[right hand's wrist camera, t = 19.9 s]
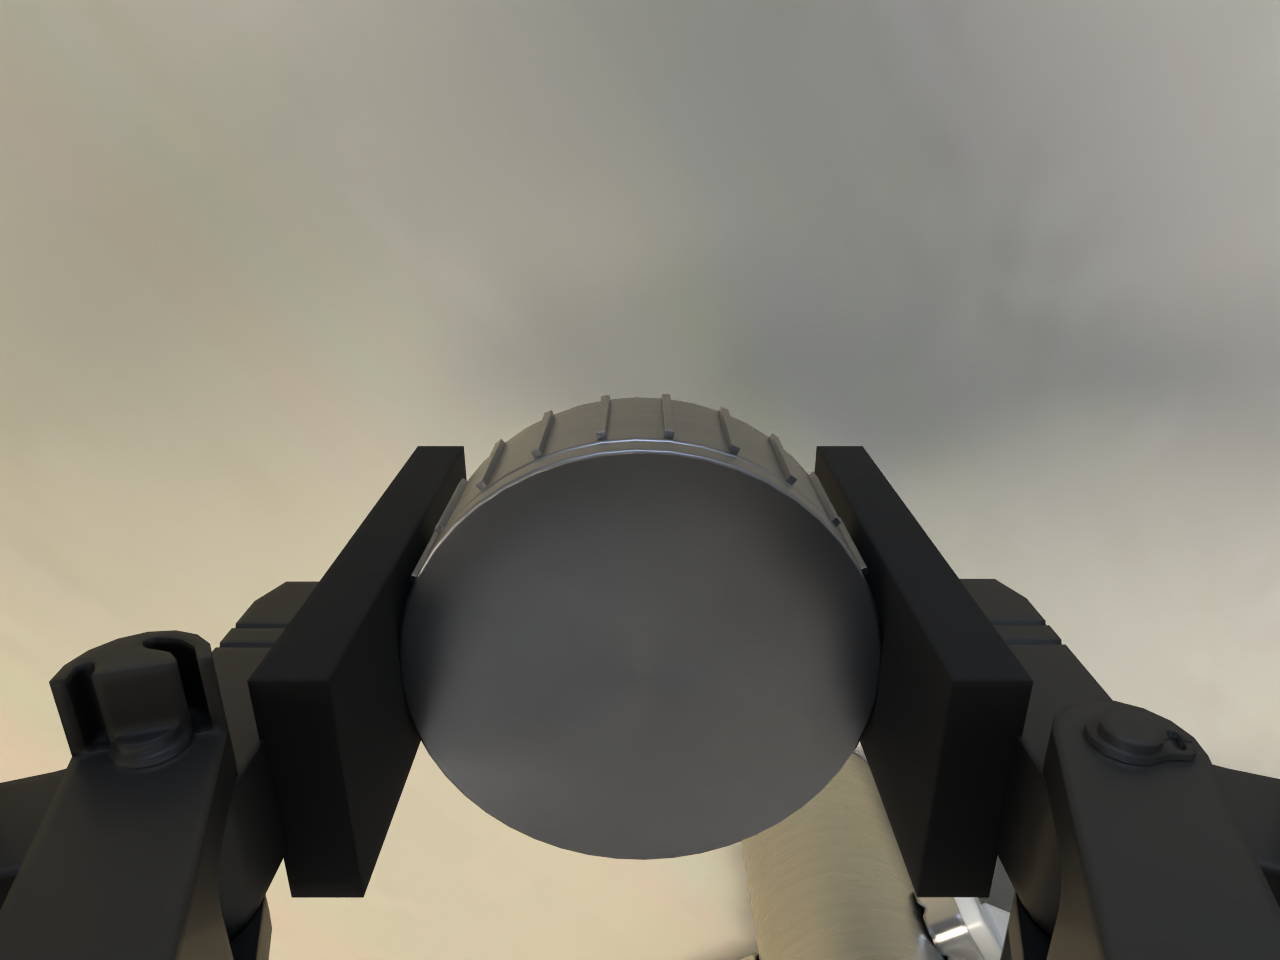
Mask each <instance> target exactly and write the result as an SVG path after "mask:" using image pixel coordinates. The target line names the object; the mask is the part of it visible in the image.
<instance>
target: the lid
mask: <svg viewBox="0 0 1280 960" xmlns="http://www.w3.org/2000/svg"><path fill="white" fill-rule="evenodd" d="M434 530H435V531H434V533H433V535H432V537H431V539H430V541H429V542H428V544H427V546H426V548H425V550H424V552H423V554H422V556H421V558H420V559H419V561H418V563H417V565H416V567H415V569H414V571H413V573H412V575H411V577H410V580H409V582H411V583H413V586H412V588H411V591H410V593H409V595H408V598H407V601H406V605H405V610H404V614H403V618H402V622H401V627H400V639H399V660H400V668H401V677H402V685H403V692H404V698H405V702H406V706H407V709H408V712H409V714H410V717H411V719H412V722H413V724H414V727H415V730H416V732H417V734H418V735H419V737H420V739H421V741H422V742H423V744H424V746H425V748H426V750H427V751H428V753H429V755H430V756H431V757H432V759H433V760H434V761H435V763H436V764H437V765H438V767H439V768H440V769H441V771H442V772H443V773H444V775H445V776H446V777H447V778H448V779H449V780H450V781H451V782H452V783H453V784H454V785H455V786H456V787H457V788H458V789H459V790H460V791H461V792H462V793H463V794H464V795H465V796H466V797H467V798H469V799H470V800H471V801H472V802H474V803H475V804H476V805H477V806H479V807H480V808H481V809H482V810H484V811H485V812H486V813H488V814H490V815H491V816H493V817H494V818H496V819H498V820H499V821H501V822H502V823H504V824H506V825H507V826H509V827H511V828H513V829H515V830H517V831H519V832H521V833H523V834H525V835H527V836H530V837H532V838H534V839H536V840H539V841H542V842H545V843H548V844H550V845H553V846H556V847H559V848H562V849H566V850H571V851H575V852H579V853H583V854H587V855H594V856H601V857H608V858H616V859H642V860H646V859H662V858H675V857H681V856H687V855H693V854H699V853H703V852H707V851H711V850H714V849H718V848H722V847H725V846H729V845H731V844H734V843H737V842H739V841H742V840H744V839H747V838H749V837H752V836H755V835H756V834H758V833H760V832H762V831H764V830H766V829H768V828H770V827H772V826H774V825H776V824H778V823H780V822H781V821H782V820H784V819H785V818H787V817H788V816H790V815H791V814H793V813H794V812H796V811H797V810H799V809H800V808H802V807H803V806H804V805H805V804H807V803H808V802H809V801H810V800H811V799H812V798H814V797H815V796H816V795H817V794H818V793H819V792H821V791H822V790H823V789H824V788H825V787H826V786H827V784H828V783H829V782H830V781H831V780H832V779H833V778H834V777H835V776H836V775H837V773H838V772H839V771H840V770H841V769H842V767H843V766H844V764H845V763H846V762H847V760H848V759H849V757H850V756H851V754H852V753H853V752H854V750H855V749H856V747H857V745H858V743H859V741H860V739H861V737H862V735H863V733H864V731H865V729H866V727H867V725H868V723H869V720H870V717H871V714H872V711H873V708H874V706H875V703H876V698H877V690H878V683H879V675H880V667H881V658H882V637H881V630H880V622H879V616H878V613H877V609H876V606H875V603H874V599H873V596H872V592H871V590H870V587H869V585H868V583H867V581H866V579H865V577H864V575H867V574H869V572H868V569H867V566H866V565H865V563H864V561H863V559H862V557H861V555H860V553H859V551H858V549H857V548H856V546H855V544H854V542H853V540H852V538H851V536H850V534H849V533H848V531H847V529H846V527H845V525H844V523H843V521H842V519H841V517H838V515H837V513H836V511H835V509H834V507H833V505H832V503H831V502H830V500H829V498H828V496H827V494H826V492H825V490H824V488H823V486H822V484H821V483H820V481H819V479H818V477H817V476H816V474H815V473H814V472H812V473H810V474H809V475H808V473H807V472H806V471H805V470H804V469H803V468H802V467H801V466H800V465H799V463H798V462H797V461H796V460H795V459H794V458H793V457H792V456H791V455H790V454H789V453H787V452H786V451H785V450H784V449H783V447H782V445H781V442H780V440H779V438H778V437H777V436H775V435H774V434H772V435H771V436H770V437H767V436H766V435H764V434H763V433H761V432H759V431H758V430H756V429H755V428H753V427H751V426H750V425H748V424H746V423H744V422H742V421H740V420H738V419H735V418H733V417H731V416H730V414H729V411H728V409H725V408H722V407H721V408H720V410H719V411H716V410H713V409H710V408H706V407H703V406H700V405H696V404H693V403H687V402H681V401H675V400H671V398H670V395H667V394H662V399H658V398H624V399H612V400H610V395H606V396H602V397H601V401H600V402H595V403H590V404H585V405H581V406H577V407H574V408H571V409H568V410H566V411H563V412H560V413H557V414H553V412H552V411H549V412H546V413H545V414H544V416H543V419H542V420H541V421H539V422H537V423H535V424H533V425H531V426H530V427H528V428H526V429H524V430H523V431H521V432H520V433H518V434H517V435H515V436H514V437H513V438H511V439H510V440H508V441H507V442H504V441H503V440H502V439H501V440H499V441H498V442H497V443H496V444H495V446H494V448H493V450H492V452H491V454H490V456H489V457H488V458H487V459H486V460H485V461H484V462H483V463H482V464H481V466H480V467H479V468H478V469H477V470H476V472H475V473H474V474H473V475H472V476H471V478H470V479H469V480H468V481H467V480H465V479H462V480H461V481H460V483H459V484H458V486H457V488H456V490H455V492H454V494H453V495H452V497H451V499H450V501H449V503H448V505H447V507H446V509H445V510H444V512H443V514H442V516H441V518H440V520H439V522H438V524H437V525H436V527H435V529H434Z"/></svg>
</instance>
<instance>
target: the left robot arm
mask: <svg viewBox="0 0 1280 960" xmlns="http://www.w3.org/2000/svg"><path fill="white" fill-rule="evenodd" d="M914 894H915V896H916V893H915V890H914ZM916 899H917V902H918V904H919V906H920V908H921V909H922V911H923V913H924V915H923V919H924V921H925V924H926V926H927V929H928V931H929V934H930V936H931V938H932V940H933V942H934V944H935V946H936V948H937V949H938V950H939V952H940V953H941V954H942V955H944V956H945V959H946V960H1000V957H1001V952H1002V948H1003V943H1004V939H1005V934H1006V930H1007V925H1008V921H1009V916H1010V913H1009V912H1007V911H1005V910H1002V909H1000V908H997V907H995V906H992V905H990V904H987V903H984V904H981V902H980V901H979V899H978V897H917V896H916ZM738 960H759V954H758V953H754V954H751V955H749V956H746V957H744V958H741V959H738Z"/></svg>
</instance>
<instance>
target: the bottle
mask: <svg viewBox="0 0 1280 960" xmlns="http://www.w3.org/2000/svg"><path fill="white" fill-rule="evenodd" d="M742 848H743V855H744V861H745V868H746V874H747V881H748V888H749V894H750V901H751V908H752V914H753V921H754V927H755V934H756V941H757V947H758V954H759V960H946V959H945V956H944V955H942V954H941V953H940V952H939V950H938V949H937V948H936V946H935V944H934V942H933V940H932V938H931V936H930V934H929V931H928V929H927V926H926V924H925V921H924V919H923V915H924V913H923V911H922V909H921V908H920V906H919V904H918V902H917V899H916V896H915V894H914V888H913V885H912V882H911V879H910V877H909V874H908V871H907V868H906V866H905V863H904V860H903V857H902V855H901V852H900V849H899V847H898V844H897V841H896V838H895V836H894V833H893V830H892V827H891V825H890V822H889V819H888V816H887V814H886V811H885V808H884V806H883V803H882V800H881V797H880V795H879V792H878V789H877V786H876V784H875V781H874V778H873V775H872V773H871V770H870V767H869V765H868V764H867V763H866V762H865V761H864V760H863V759H861V758H860V757H858V756H857V755H855V754H854V753H852V754H851V756H850V757H849V759H848V760H847V762H846V763H845V764H844V766H843V767H842V769H841V770H840V771H839V772H838V773H837V775H836V776H835V777H834V778H833V779H832V780H831V781H830V782H829V783H828V784H827V786H826V787H825V788H824V789H823V790H822V791H821V792H819V793H818V794H817V795H816V796H815V797H814V798H812V799H811V800H810V801H809V802H808V803H807V804H805V805H804V806H803V807H802V808H800V809H799V810H797V811H796V812H794V813H793V814H791V815H790V816H788V817H787V818H785V819H784V820H782V821H781V822H780V823H778V824H776V825H774V826H772V827H770V828H768V829H766V830H764V831H762V832H760V833H758V834H756V835H755V836H752V837H749V838H747V839H744V840H742Z"/></svg>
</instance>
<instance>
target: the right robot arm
mask: <svg viewBox="0 0 1280 960" xmlns="http://www.w3.org/2000/svg"><path fill="white" fill-rule="evenodd" d="M815 474H816V476H817V477H818V479H819V481H820V483H821V484H822V486H823V488H824V490H825V492H826V494H827V496H828V498H829V500H830V502H831V503H832V505H833V507H834V509H835V511H836V513H837V515H838V517H841V519H842V521H843V523H844V525H845V527H846V529H847V531H848V533H849V534H850V536H851V538H852V540H853V542H854V544H855V546H856V548H857V549H858V551H859V553H860V555H861V557H862V559H863V561H864V563H865V565H866V566H867V569H868V572H869V574H867V575H864V577H865V579H866V581H867V583H868V585H869V587H870V590H871V592H872V596H873V599H874V603H875V606H876V609H877V613H878V616H879V622H880V630H881V637H882V658H881V667H880V675H879V683H878V690H877V698H876V703H875V706H874V708H873V711H872V714H871V717H870V720H869V723H868V725H867V727H866V729H865V731H864V733H863V735H862V737H861V739H860V743H861V745H862V748H863V751H864V754H865V756H866V759H867V762H868V764H869V767H870V770H871V773H872V775H873V778H874V781H875V784H876V786H877V789H878V792H879V795H880V797H881V800H882V803H883V806H884V808H885V811H886V814H887V816H888V819H889V822H890V825H891V827H892V830H893V833H894V836H895V838H896V841H897V844H898V847H899V849H900V852H901V855H902V857H903V860H904V863H905V866H906V868H907V871H908V874H909V877H910V879H911V882H912V885H913V888H914V890H915V893H916V896H917V897H989V893H990V889H991V884H992V879H993V874H994V869H995V864H996V860H997V855H998V856H999V858H1000V860H1001V862H1002V864H1003V866H1004V868H1005V870H1006V872H1007V874H1008V876H1009V878H1010V880H1011V882H1012V884H1013V886H1014V888H1015V894H1014V898H1013V903H1012V907H1011V912H1010V916H1009V921H1008V925H1007V930H1006V934H1005V939H1004V943H1003V948H1002V952H1001V957H1000V960H1280V779H1276V778H1271V777H1266V776H1262V775H1257V774H1252V773H1247V772H1242V771H1237V770H1232V769H1227V768H1224V767H1220V766H1216V765H1212V763H1211V761H1210V759H1209V757H1208V755H1207V754H1206V753H1205V751H1204V750H1203V749H1202V747H1201V746H1200V745H1199V743H1198V742H1197V741H1196V740H1195V738H1194V737H1192V736H1191V735H1190V734H1188V733H1187V732H1186V731H1184V730H1183V729H1181V728H1180V727H1179V726H1177V725H1176V724H1174V723H1173V722H1172V721H1170V720H1168V719H1165V718H1163V717H1161V716H1159V715H1157V714H1154V713H1152V712H1150V711H1148V710H1146V709H1144V708H1140V707H1136V706H1132V705H1128V704H1124V703H1121V702H1117V701H1113V700H1112V699H1111V698H1110V697H1109V696H1108V694H1107V693H1106V692H1105V691H1104V690H1103V688H1102V687H1101V686H1100V685H1099V684H1098V683H1097V681H1096V680H1095V679H1094V678H1093V677H1092V675H1091V674H1090V673H1089V672H1088V671H1087V670H1086V668H1085V667H1084V666H1083V665H1082V664H1081V662H1080V661H1079V660H1078V659H1077V658H1076V657H1075V655H1074V654H1073V653H1072V652H1071V651H1070V649H1069V648H1068V647H1067V646H1066V645H1062V643H1061V639H1060V638H1059V636H1058V635H1057V634H1056V633H1055V632H1054V630H1053V629H1052V628H1051V627H1050V626H1049V625H1046V624H1045V620H1044V619H1043V617H1042V616H1041V615H1040V614H1039V613H1038V611H1037V610H1036V609H1035V608H1034V607H1033V606H1032V604H1031V603H1030V602H1029V601H1028V600H1027V598H1025V597H1023V596H1022V595H1020V594H1018V593H1017V592H1015V591H1013V590H1012V589H1010V588H1009V587H1007V586H1005V585H1004V584H1002V583H1000V582H999V581H997V580H995V579H959V578H958V577H957V575H956V574H955V573H954V571H953V570H952V569H951V567H950V566H949V564H948V563H947V562H946V560H945V559H944V558H943V556H942V555H941V553H940V552H939V551H938V549H937V548H936V547H935V545H934V544H933V542H932V541H931V540H930V538H929V537H928V536H927V534H926V533H925V531H924V530H923V529H922V527H921V526H920V525H919V523H918V522H917V520H916V519H915V518H914V516H913V515H912V514H911V512H910V511H909V509H908V508H907V507H906V505H905V504H904V503H903V501H902V500H901V498H900V497H899V496H898V494H897V493H896V492H895V490H894V489H893V487H892V486H891V485H890V483H889V482H888V481H887V479H886V478H885V476H884V475H883V474H882V472H881V471H880V470H879V468H878V467H877V466H876V464H875V463H874V461H873V460H872V459H871V457H870V456H869V455H868V453H867V452H866V450H865V449H864V448H863V446H817V451H816V463H815ZM462 479H465V480H466V469H465V456H464V446H418V447H417V448H416V450H415V451H414V453H413V454H412V455H411V457H410V458H409V459H408V461H407V462H406V464H405V465H404V466H403V468H402V469H401V470H400V472H399V473H398V475H397V476H396V477H395V479H394V480H393V481H392V483H391V484H390V485H389V487H388V488H387V490H386V491H385V492H384V494H383V495H382V496H381V498H380V499H379V501H378V502H377V503H376V505H375V506H374V507H373V509H372V510H371V512H370V513H369V514H368V516H367V517H366V518H365V520H364V521H363V523H362V524H361V525H360V527H359V528H358V529H357V531H356V532H355V534H354V535H353V536H352V538H351V539H350V540H349V542H348V543H347V545H346V546H345V547H344V549H343V550H342V551H341V553H340V554H339V556H338V557H337V558H336V560H335V561H334V562H333V564H332V565H331V567H330V568H329V569H328V571H327V572H326V573H325V575H324V576H323V578H322V579H321V580H320V582H285V583H283V584H282V585H280V586H279V587H277V588H275V589H274V590H272V591H270V592H269V593H267V594H266V595H264V596H262V597H261V598H259V599H257V600H256V601H254V603H253V604H252V605H251V606H250V607H249V609H248V610H247V611H246V612H245V613H244V615H243V616H242V617H241V618H240V619H239V621H238V622H237V623H236V628H232V629H231V630H230V631H229V632H228V634H227V635H226V636H225V637H224V638H223V640H222V641H221V642H220V647H219V648H215V649H214V650H213V652H212V651H211V647H210V643H208V642H207V641H205V640H204V639H203V638H201V637H200V636H199V635H197V634H192V633H187V632H181V631H176V630H175V631H156V632H146V633H141V634H137V635H132V636H128V637H123V638H119V639H116V640H114V641H111V642H108V643H106V644H103V645H101V646H98V647H96V648H93V649H91V650H88V651H87V652H85V653H84V654H82V655H80V656H79V657H77V658H75V659H74V660H72V661H71V662H69V663H67V664H66V665H64V666H63V667H62V668H61V670H60V671H59V672H58V673H57V674H56V675H55V676H54V677H53V678H52V679H51V680H50V681H49V683H50V687H51V690H52V693H53V696H54V699H55V703H56V706H57V709H58V712H59V716H60V719H61V722H62V725H63V728H64V732H65V735H66V738H67V741H68V744H69V748H70V751H71V754H72V758H71V761H70V763H69V765H68V767H67V769H63V770H60V771H56V772H52V773H47V774H42V775H37V776H32V777H27V778H23V779H18V780H13V781H8V782H3V783H0V960H268V959H269V950H270V941H271V933H272V926H271V919H270V913H269V907H268V903H267V899H266V892H267V890H268V888H269V886H270V884H271V882H272V880H273V878H274V876H275V874H276V872H277V870H278V868H279V866H280V864H281V862H282V860H283V858H284V862H285V867H286V871H287V876H288V881H289V886H290V891H291V896H292V897H364V894H365V892H366V889H367V886H368V884H369V881H370V878H371V875H372V873H373V870H374V867H375V864H376V862H377V859H378V856H379V853H380V851H381V848H382V845H383V842H384V840H385V837H386V834H387V832H388V829H389V826H390V823H391V821H392V818H393V815H394V812H395V810H396V807H397V804H398V801H399V799H400V796H401V793H402V791H403V788H404V785H405V782H406V780H407V777H408V774H409V771H410V769H411V766H412V763H413V760H414V758H415V755H416V752H417V750H418V747H419V744H420V741H421V739H420V737H419V735H418V734H417V732H416V730H415V727H414V724H413V722H412V719H411V717H410V714H409V712H408V709H407V706H406V702H405V698H404V692H403V685H402V677H401V668H400V660H399V639H400V627H401V622H402V618H403V614H404V610H405V605H406V601H407V598H408V595H409V593H410V591H411V588H412V586H413V583H411V582H409V580H410V577H411V575H412V573H413V571H414V569H415V567H416V565H417V563H418V561H419V559H420V558H421V556H422V554H423V552H424V550H425V548H426V546H427V544H428V542H429V541H430V539H431V537H432V535H433V533H434V531H435V530H434V529H435V527H436V525H437V524H438V522H439V520H440V518H441V516H442V514H443V512H444V510H445V509H446V507H447V505H448V503H449V501H450V499H451V497H452V495H453V494H454V492H455V490H456V488H457V486H458V484H459V483H460V481H461V480H462Z"/></svg>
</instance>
